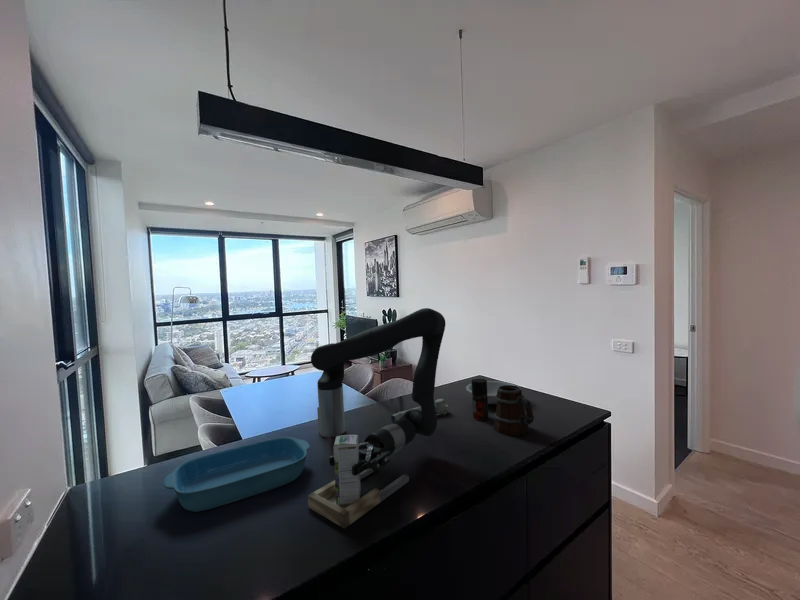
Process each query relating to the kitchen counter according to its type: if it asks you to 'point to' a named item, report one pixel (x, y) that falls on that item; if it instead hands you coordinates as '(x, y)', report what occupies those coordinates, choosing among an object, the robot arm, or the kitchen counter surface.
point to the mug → (512, 411)
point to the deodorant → (480, 399)
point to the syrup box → (346, 469)
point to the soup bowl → (491, 389)
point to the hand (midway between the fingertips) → (341, 466)
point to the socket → (341, 513)
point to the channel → (391, 487)
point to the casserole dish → (237, 473)
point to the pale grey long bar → (439, 408)
